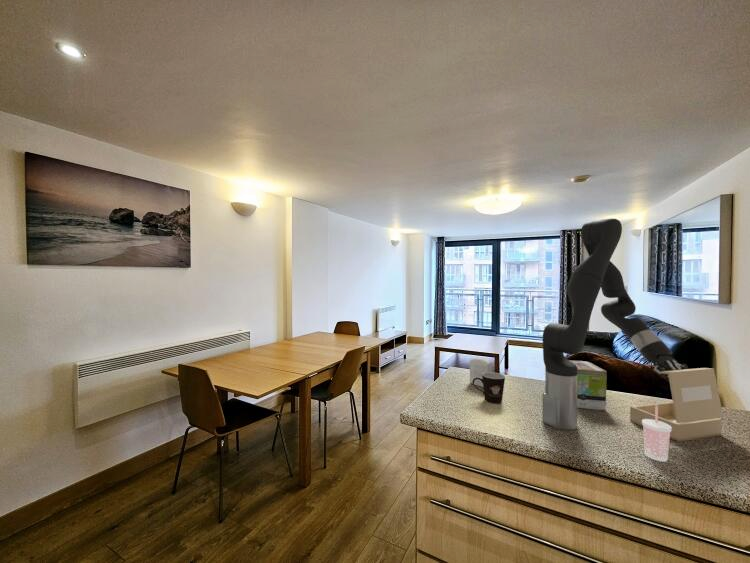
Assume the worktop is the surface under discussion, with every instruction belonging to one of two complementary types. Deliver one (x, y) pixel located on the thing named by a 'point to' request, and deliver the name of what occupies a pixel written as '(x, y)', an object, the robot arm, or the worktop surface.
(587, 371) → the tea box
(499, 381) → the coffee mug
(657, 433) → the beverage cup
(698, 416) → the lid
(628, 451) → the worktop surface
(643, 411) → the mailer box
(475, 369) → the photo printer
